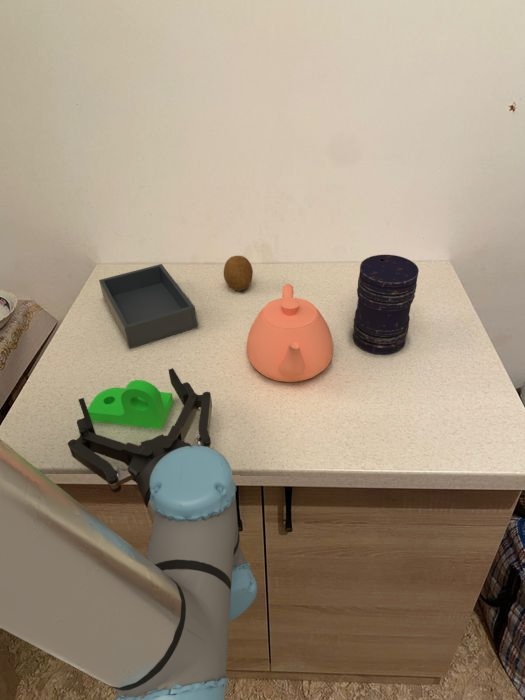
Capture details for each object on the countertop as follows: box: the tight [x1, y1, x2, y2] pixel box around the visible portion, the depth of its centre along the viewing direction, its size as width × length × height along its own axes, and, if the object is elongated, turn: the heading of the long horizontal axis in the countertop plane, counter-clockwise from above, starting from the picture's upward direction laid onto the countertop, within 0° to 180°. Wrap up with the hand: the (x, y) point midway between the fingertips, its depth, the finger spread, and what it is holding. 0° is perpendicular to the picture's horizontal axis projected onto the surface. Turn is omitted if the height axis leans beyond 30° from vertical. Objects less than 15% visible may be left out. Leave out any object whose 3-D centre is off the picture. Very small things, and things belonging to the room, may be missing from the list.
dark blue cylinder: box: [352, 254, 420, 356], centre depth 89 cm, size 10×10×15 cm
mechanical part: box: [87, 379, 174, 430], centre depth 78 cm, size 12×6×8 cm, turn 80°
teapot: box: [246, 283, 334, 383], centre depth 85 cm, size 22×15×12 cm
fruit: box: [223, 255, 254, 291], centre depth 106 cm, size 6×6×8 cm
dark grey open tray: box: [98, 263, 198, 350], centre depth 101 cm, size 14×20×5 cm
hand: (128, 389), depth 76 cm, fingers open, 13 cm apart
